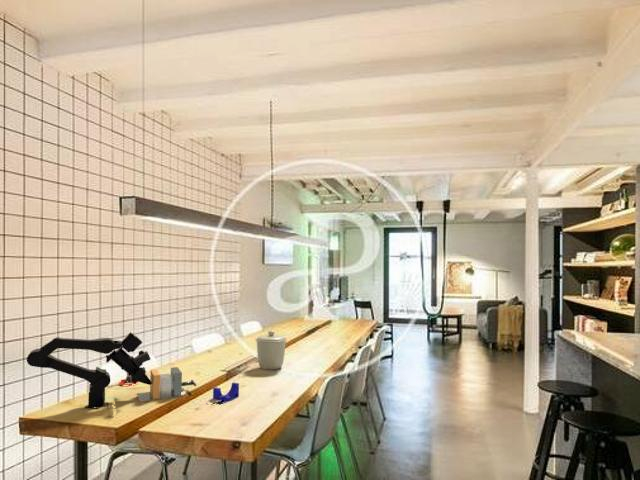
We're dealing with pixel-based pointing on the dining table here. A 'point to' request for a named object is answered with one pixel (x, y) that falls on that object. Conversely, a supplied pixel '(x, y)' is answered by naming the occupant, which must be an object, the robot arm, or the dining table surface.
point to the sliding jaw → (155, 384)
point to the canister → (271, 350)
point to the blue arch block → (230, 395)
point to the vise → (175, 387)
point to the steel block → (165, 385)
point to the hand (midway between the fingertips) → (151, 383)
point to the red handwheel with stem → (126, 380)
